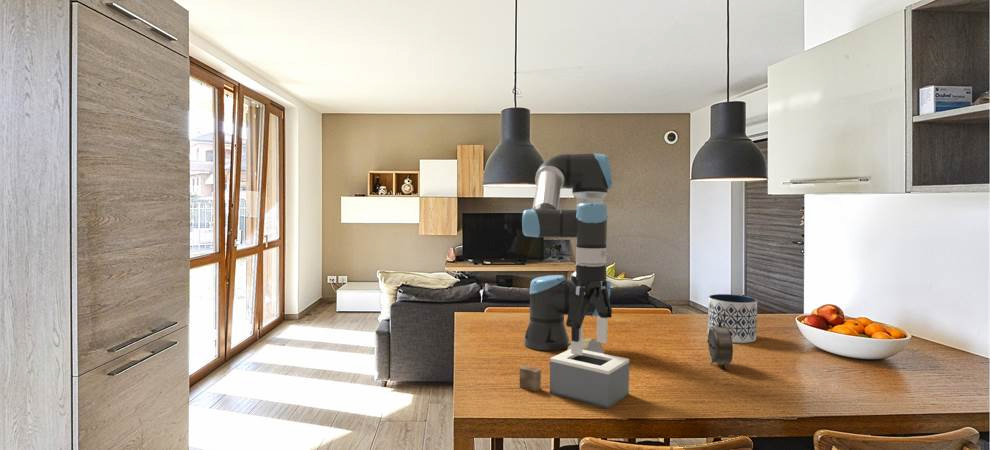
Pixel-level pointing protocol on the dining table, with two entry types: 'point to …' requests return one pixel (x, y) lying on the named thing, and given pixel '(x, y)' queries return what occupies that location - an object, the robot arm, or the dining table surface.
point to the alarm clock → (720, 344)
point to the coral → (591, 345)
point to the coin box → (590, 377)
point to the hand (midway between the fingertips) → (589, 348)
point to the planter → (734, 315)
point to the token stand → (530, 378)
